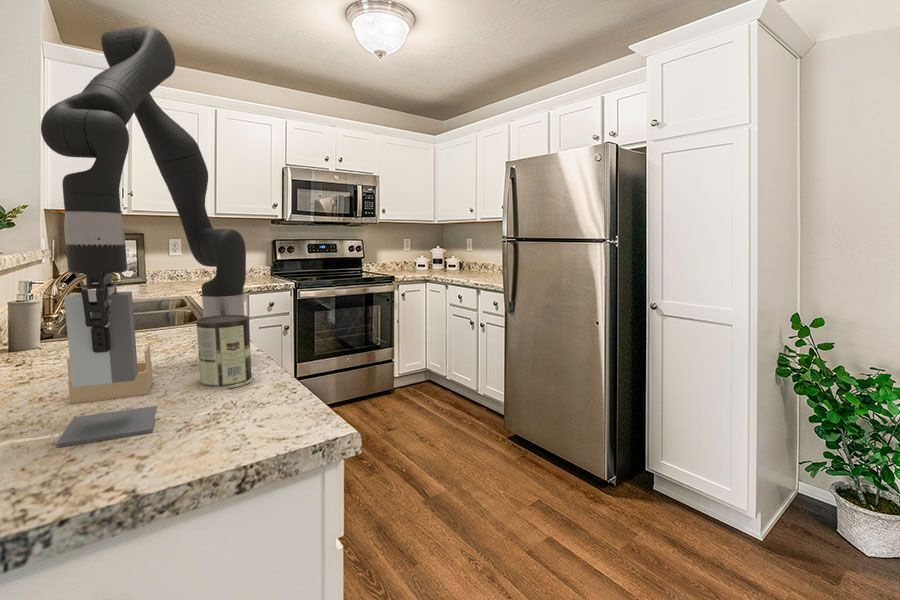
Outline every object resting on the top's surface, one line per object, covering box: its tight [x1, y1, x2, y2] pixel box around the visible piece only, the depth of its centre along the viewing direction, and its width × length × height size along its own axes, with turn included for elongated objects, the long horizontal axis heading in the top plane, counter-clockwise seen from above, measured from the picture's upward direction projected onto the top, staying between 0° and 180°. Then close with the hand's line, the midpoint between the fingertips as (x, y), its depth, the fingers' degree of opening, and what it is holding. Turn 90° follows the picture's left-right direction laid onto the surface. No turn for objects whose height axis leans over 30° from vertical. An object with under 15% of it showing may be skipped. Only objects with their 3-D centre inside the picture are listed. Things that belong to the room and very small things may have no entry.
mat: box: [55, 405, 158, 448], centre depth 77 cm, size 12×12×1 cm
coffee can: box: [195, 314, 253, 389], centre depth 101 cm, size 10×10×14 cm
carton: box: [66, 343, 154, 405], centre depth 92 cm, size 12×9×9 cm
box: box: [63, 291, 138, 387], centre depth 75 cm, size 8×5×14 cm, turn 118°
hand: (105, 347), depth 76 cm, fingers closed on box, 5 cm apart
